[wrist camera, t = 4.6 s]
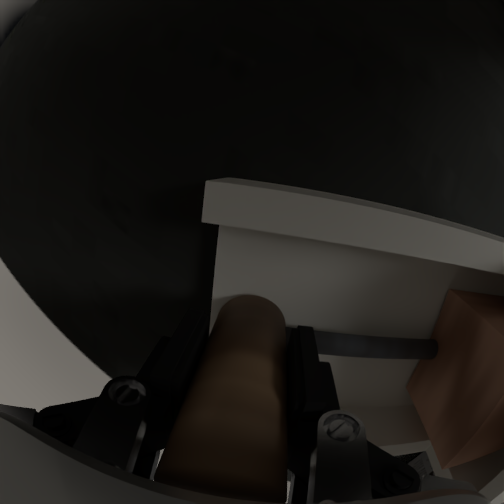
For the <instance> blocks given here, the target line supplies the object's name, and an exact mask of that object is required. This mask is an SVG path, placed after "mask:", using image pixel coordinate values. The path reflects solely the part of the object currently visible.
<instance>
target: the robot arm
mask: <svg viewBox="0 0 504 504" xmlns="http://www.w3.org/2000/svg"><path fill="white" fill-rule="evenodd" d="M503 2H504V0H503ZM208 332H209V315H205V311H203V310H198V309H193V308H190V309H189V310H188V311H187V313H186V315H185V316H184V318H183V320H182V321H181V323H180V325H179V326H178V328H177V329H176V331H175V333H174V334H173V336H172V338H170V337H165V336H163V337H162V338H161V339H160V341H159V342H158V344H157V345H156V347H155V348H154V350H153V351H152V353H151V354H150V356H149V357H148V359H147V360H146V362H145V364H144V365H143V367H142V368H141V370H140V371H139V373H138V374H137V376H136V377H134V376H119V377H116V378H113V379H112V380H110V381H109V382H108V383H107V384H106V385H105V387H104V389H103V391H102V392H101V394H100V396H99V397H95V398H90V399H86V400H81V401H76V402H71V403H65V404H60V405H54V406H49V407H46V408H44V409H42V410H41V411H40V412H37V411H36V410H35V409H32V408H23V407H16V406H9V405H3V404H0V504H283V503H267V502H255V501H246V500H238V499H231V498H225V497H219V496H213V495H208V494H203V493H198V492H193V491H189V490H185V489H181V488H177V487H173V486H170V485H166V484H162V483H159V482H156V481H153V480H154V474H155V471H156V467H157V463H158V459H159V455H160V450H162V449H164V448H165V446H166V443H167V441H168V438H169V436H170V433H171V431H172V428H173V426H174V423H175V421H176V418H177V416H178V413H179V410H180V408H181V405H182V403H183V400H184V398H185V395H186V393H187V390H188V388H189V385H190V383H191V380H192V378H193V375H194V373H195V370H196V368H197V365H198V363H199V360H200V358H201V355H202V353H203V350H204V348H205V345H206V343H207V340H208ZM286 356H287V419H288V451H287V468H288V469H289V470H290V471H292V472H293V473H292V477H291V485H290V491H289V498H288V504H491V502H490V501H489V500H488V499H487V498H486V497H485V496H484V495H482V494H481V493H478V492H477V490H476V488H475V486H473V485H472V484H471V483H469V482H466V481H460V480H454V479H448V478H443V477H438V476H433V475H428V474H424V475H423V476H419V474H418V473H417V471H416V470H415V469H414V468H413V467H411V466H410V465H408V464H406V463H405V462H403V461H401V460H399V459H398V458H396V457H394V456H392V455H391V454H389V453H387V452H386V451H384V450H382V449H381V448H379V447H377V446H376V445H374V444H373V443H371V442H369V441H368V440H367V439H366V431H365V426H364V423H363V422H362V421H361V419H360V418H359V417H357V416H356V415H355V414H353V413H350V412H348V411H343V410H340V406H339V401H338V396H337V392H336V387H335V382H334V378H333V373H332V369H331V365H330V363H329V362H323V361H319V355H318V350H317V345H316V339H315V334H314V329H313V327H310V326H301V325H298V327H297V329H295V328H292V330H291V334H290V338H289V342H288V347H287V351H286Z"/></svg>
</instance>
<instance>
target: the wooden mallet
mask: <svg viewBox="0 0 504 504" xmlns="http://www.w3.org/2000/svg"><path fill="white" fill-rule="evenodd" d="M295 329H297V328H295ZM291 330H292V327H286V324H285V318H284V315H283V313H282V312H281V310H280V309H279V308H278V306H277V305H275V304H274V303H273V302H272V301H270V300H268V299H266V298H264V297H261V296H257V295H242V296H238V297H235V298H233V299H231V300H229V301H228V302H227V303H225V304H224V305H223V307H222V308H221V309H220V311H219V313H218V316H217V318H216V321H215V323H214V326H213V328H212V331H211V333H210V336H209V338H208V340H207V343H206V345H205V348H204V350H203V353H202V355H201V358H200V360H199V363H198V365H197V368H196V370H195V373H194V375H193V378H192V380H191V383H190V385H189V388H188V390H187V393H186V395H185V398H184V400H183V403H182V405H181V408H180V410H179V413H178V416H177V418H176V421H175V423H174V426H173V428H172V431H171V433H170V436H169V438H168V441H167V443H166V446H165V449H164V451H163V454H162V456H161V459H160V461H159V464H158V467H157V469H156V472H155V474H154V481H156V482H159V483H162V484H166V485H170V486H173V487H177V488H181V489H185V490H189V491H193V492H198V493H203V494H208V495H213V496H219V497H225V498H231V499H238V500H246V501H255V502H267V503H283V504H285V502H286V501H287V451H288V419H287V356H286V350H287V347H288V342H289V338H290V334H291ZM314 334H315V339H316V345H317V350H318V354H323V355H334V356H346V357H361V358H380V359H420V361H419V363H418V365H417V367H416V369H415V371H414V373H413V375H412V377H411V378H410V380H409V382H408V384H407V386H406V389H407V391H408V393H409V395H410V397H411V399H412V401H413V403H414V406H415V408H416V410H417V412H418V414H419V416H420V419H421V421H422V423H423V425H424V428H425V430H426V432H427V434H428V437H429V439H430V441H431V444H432V446H433V449H434V451H435V453H436V456H437V458H438V461H439V463H440V466H441V469H442V470H443V469H447V468H450V467H454V466H457V465H460V464H463V463H466V462H469V461H472V460H475V459H477V458H480V457H483V456H485V455H488V454H490V453H493V452H495V451H497V450H500V449H502V448H504V296H498V295H490V294H483V293H476V292H468V291H461V290H454V289H449V291H448V294H447V297H446V299H445V302H444V305H443V308H442V310H441V313H440V315H439V318H438V320H437V323H436V325H435V328H434V330H433V333H432V335H431V337H430V339H412V338H394V337H379V336H367V335H355V334H344V333H335V332H325V331H316V330H314Z"/></svg>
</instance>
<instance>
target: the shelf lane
mask: <svg viewBox="0 0 504 504" xmlns="http://www.w3.org/2000/svg"><path fill="white" fill-rule="evenodd" d="M202 222H204V223H211V224H218V225H219V233H218V242H217V252H216V262H215V272H214V283H213V294H212V305H211V317H210V330H209V336H210V333H211V331H212V328H213V326H214V323H215V321H216V318H217V316H218V313H219V311H220V309H221V308H222V307H223V305H224V304H225V303H227V302H228V301H229V300H231V299H233V298H235V297H238V296H242V295H257V296H261V297H264V298H266V299H268V300H270V301H272V302H273V303H274V304H275V305H277V306H278V308H279V309H280V310H281V312H282V313H283V315H284V318H285V324H286V327H292V328H297V327H298V325H301V326H310V327H313V329H314V330H316V331H325V332H335V333H344V334H355V335H367V336H379V337H394V338H412V339H430V337H431V335H432V333H433V330H434V328H435V325H436V323H437V320H438V318H439V315H440V313H441V310H442V308H443V305H444V302H445V299H446V297H447V294H448V291H449V289H454V290H461V291H468V292H476V293H483V294H490V295H498V296H504V238H503V237H500V236H497V235H494V234H491V233H488V232H485V231H481V230H478V229H475V228H472V227H468V226H465V225H462V224H458V223H455V222H451V221H448V220H444V219H441V218H437V217H433V216H430V215H426V214H422V213H418V212H414V211H410V210H406V209H402V208H398V207H394V206H390V205H385V204H381V203H376V202H372V201H367V200H363V199H358V198H353V197H348V196H343V195H338V194H333V193H328V192H322V191H317V190H311V189H305V188H299V187H293V186H287V185H281V184H274V183H268V182H261V181H253V180H246V179H238V178H230V177H228V178H221V179H214V180H207V181H206V184H205V193H204V202H203V212H202ZM286 351H287V350H286ZM318 355H319V361H323V362H329V363H330V365H331V369H332V373H333V378H334V382H335V387H336V392H337V396H338V401H339V406H340V410H343V411H348V412H350V413H353V414H355V415H356V416H357V417H359V418H360V419H361V421H362V422H363V423H364V426H365V431H366V439H367V440H368V441H369V442H371V443H373V444H374V445H376V446H377V447H379V448H381V449H382V450H384V451H386V452H387V453H389V454H391V455H392V456H398V455H405V454H411V453H417V452H423V451H426V453H427V455H428V458H429V460H430V463H431V466H432V468H433V471H434V474H435V476H438V477H443V478H448V479H454V480H460V481H466V482H469V483H471V484H472V485H473V486H475V488H476V490H477V492H478V493H481V494H482V495H484V496H485V497H486V498H487V499H488V500H489V501H490V502H491V504H501V503H503V502H504V448H502V449H500V450H497V451H495V452H493V453H490V454H488V455H485V456H483V457H480V458H477V459H475V460H472V461H469V462H466V463H463V464H460V465H457V466H454V467H450V468H447V469H443V470H442V469H441V466H440V463H439V461H438V458H437V456H436V453H435V451H434V449H433V446H432V444H431V441H430V439H429V437H428V434H427V432H426V430H425V428H424V425H423V423H422V421H421V419H420V416H419V414H418V412H417V410H416V408H415V406H414V403H413V401H412V399H411V397H410V395H409V393H408V391H407V389H406V386H407V384H408V382H409V380H410V378H411V377H412V375H413V373H414V371H415V369H416V367H417V365H418V363H419V361H420V359H380V358H361V357H346V356H334V355H323V354H318Z"/></svg>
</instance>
